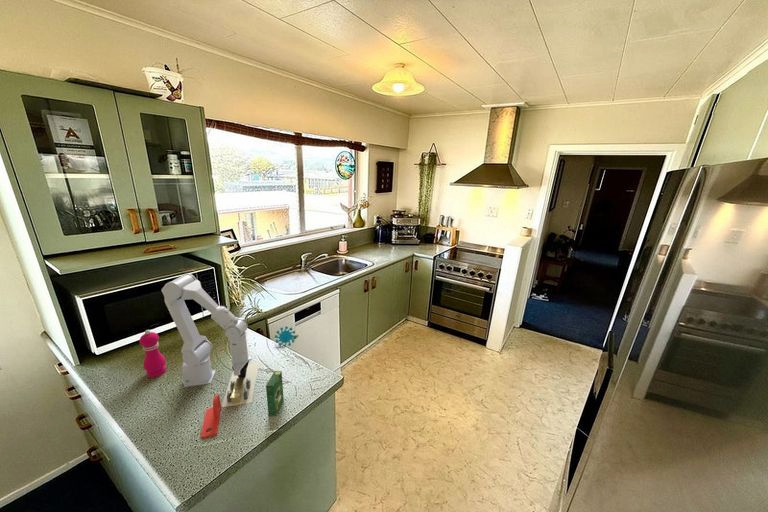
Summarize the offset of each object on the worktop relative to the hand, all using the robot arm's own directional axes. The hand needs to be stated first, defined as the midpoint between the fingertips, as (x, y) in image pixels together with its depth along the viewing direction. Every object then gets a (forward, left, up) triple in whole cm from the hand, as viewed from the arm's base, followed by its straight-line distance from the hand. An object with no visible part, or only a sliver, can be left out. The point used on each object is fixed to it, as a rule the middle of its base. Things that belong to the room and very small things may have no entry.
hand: (242, 378), depth 117 cm
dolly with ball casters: (0, -7, -1) cm, 7 cm away
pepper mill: (-35, +13, -2) cm, 37 cm away
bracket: (-6, -19, -2) cm, 20 cm away
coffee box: (+14, -17, -2) cm, 22 cm away
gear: (+16, +24, -2) cm, 29 cm away
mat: (0, -2, -1) cm, 2 cm away
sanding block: (0, -8, -1) cm, 8 cm away
